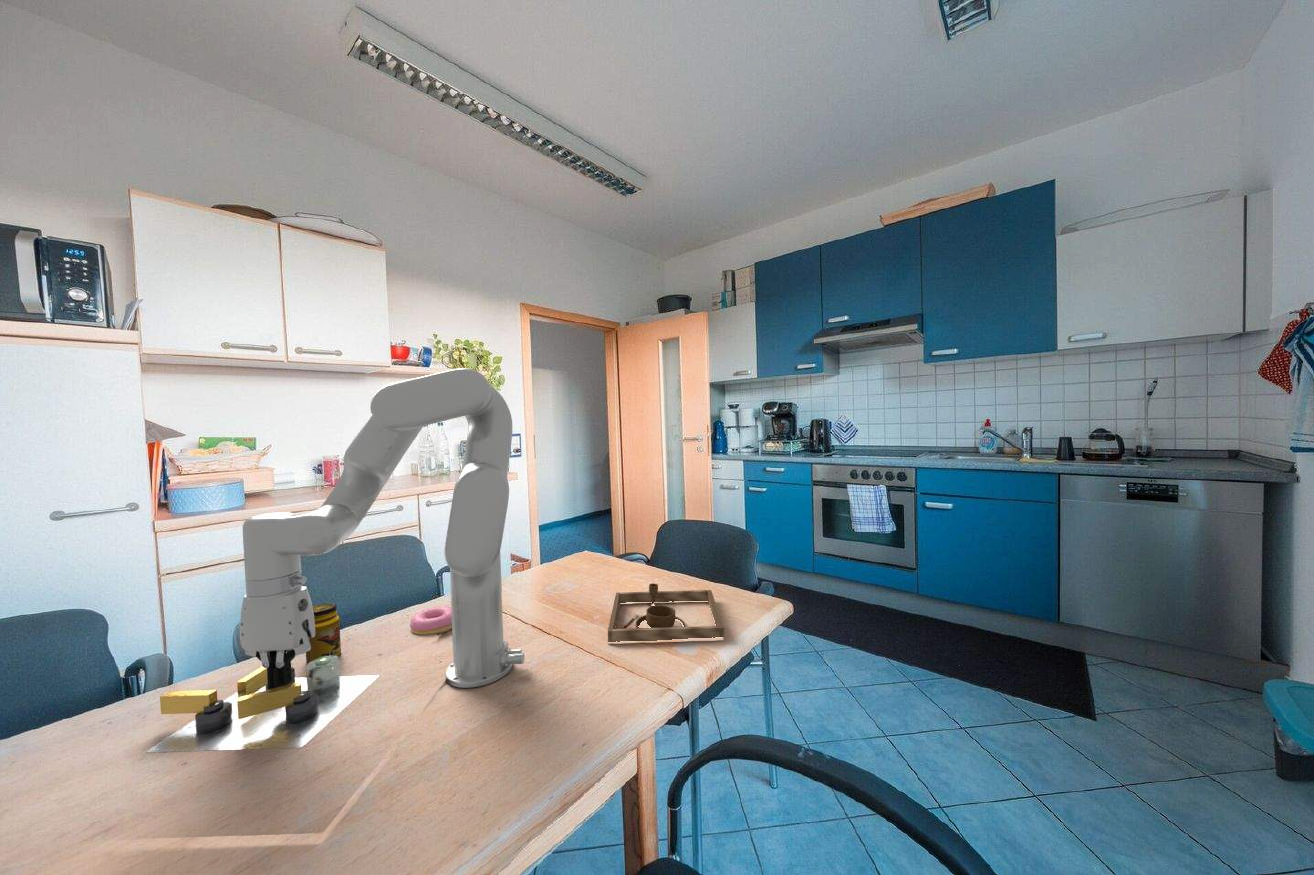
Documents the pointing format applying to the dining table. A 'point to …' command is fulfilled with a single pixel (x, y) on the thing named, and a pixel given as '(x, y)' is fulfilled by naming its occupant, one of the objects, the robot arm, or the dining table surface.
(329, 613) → the condiment
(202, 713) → the knob
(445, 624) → the doughnut
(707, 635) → the brown rectangular frame
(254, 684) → the knob
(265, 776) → the dining table surface
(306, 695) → the knob
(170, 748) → the silver flat rectangular sheet
